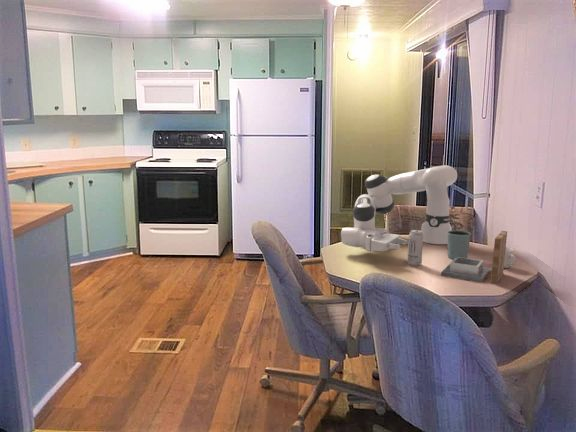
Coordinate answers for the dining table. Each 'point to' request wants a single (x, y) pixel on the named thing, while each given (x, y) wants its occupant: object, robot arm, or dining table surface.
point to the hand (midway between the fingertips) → (403, 244)
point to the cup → (509, 257)
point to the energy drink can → (415, 248)
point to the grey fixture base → (466, 269)
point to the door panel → (498, 257)
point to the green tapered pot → (458, 244)
